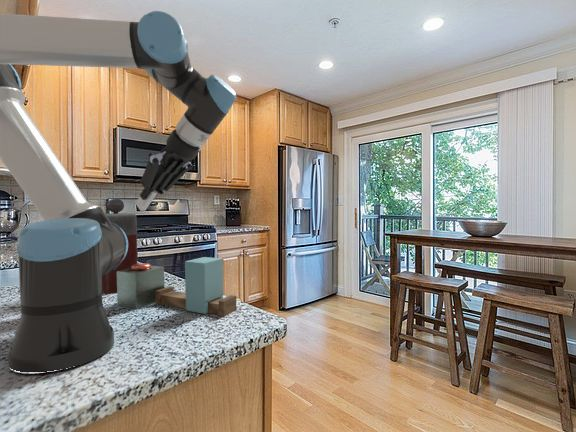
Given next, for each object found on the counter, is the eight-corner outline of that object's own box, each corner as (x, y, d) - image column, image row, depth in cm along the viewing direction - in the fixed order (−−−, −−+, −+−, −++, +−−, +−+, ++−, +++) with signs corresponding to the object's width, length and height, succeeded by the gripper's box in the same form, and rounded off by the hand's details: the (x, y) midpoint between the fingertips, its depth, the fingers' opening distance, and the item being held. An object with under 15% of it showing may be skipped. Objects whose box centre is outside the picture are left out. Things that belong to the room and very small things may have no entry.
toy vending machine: (123, 282, 106) (121, 199, 105) (138, 288, 99) (136, 198, 98) (93, 287, 99) (91, 198, 98) (107, 294, 92) (105, 198, 91)
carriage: (223, 305, 81) (222, 258, 80) (205, 314, 75) (204, 263, 74) (204, 302, 83) (204, 257, 83) (185, 310, 77) (184, 261, 77)
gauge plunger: (143, 291, 81) (143, 267, 81) (127, 291, 82) (127, 266, 82) (154, 287, 86) (153, 263, 86) (139, 286, 87) (138, 263, 87)
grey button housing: (164, 299, 87) (163, 266, 86) (136, 309, 79) (135, 273, 78) (146, 296, 90) (145, 264, 89) (117, 305, 82) (116, 271, 81)
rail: (236, 309, 78) (236, 295, 78) (224, 316, 73) (223, 301, 73) (170, 298, 87) (169, 286, 87) (155, 304, 83) (155, 290, 83)
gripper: (176, 143, 69) (125, 218, 76) (214, 152, 80) (166, 216, 88) (158, 121, 71) (110, 196, 78) (198, 133, 82) (152, 197, 90)
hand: (140, 206), depth 83 cm, fingers closed
